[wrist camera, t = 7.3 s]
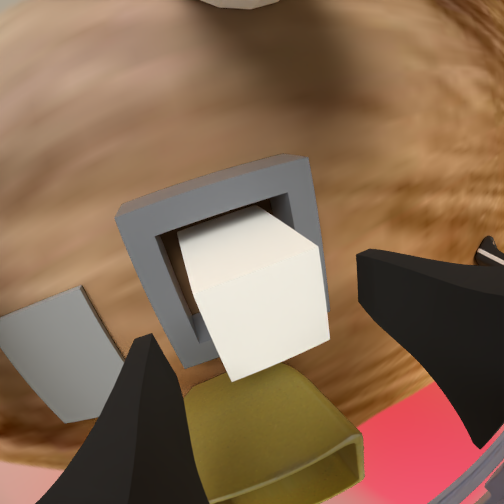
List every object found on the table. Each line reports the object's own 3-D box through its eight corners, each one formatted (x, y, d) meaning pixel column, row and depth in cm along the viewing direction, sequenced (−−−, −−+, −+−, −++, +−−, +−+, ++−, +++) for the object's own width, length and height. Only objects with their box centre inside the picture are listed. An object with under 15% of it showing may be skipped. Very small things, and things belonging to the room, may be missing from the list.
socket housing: (121, 204, 12) (113, 219, 10) (283, 153, 14) (310, 157, 11) (179, 338, 16) (185, 371, 13) (308, 289, 17) (332, 313, 15)
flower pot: (281, 318, 17) (366, 433, 9) (308, 394, 21) (366, 480, 13) (149, 377, 16) (168, 512, 8) (208, 439, 20) (241, 534, 12)
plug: (202, 300, 15) (231, 382, 10) (176, 232, 13) (192, 293, 8) (272, 274, 16) (330, 339, 11) (255, 204, 14) (318, 246, 9)
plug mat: (-12, 322, 11) (-15, 325, 11) (81, 285, 13) (79, 288, 12) (65, 419, 15) (65, 423, 15) (153, 399, 17) (153, 403, 16)
